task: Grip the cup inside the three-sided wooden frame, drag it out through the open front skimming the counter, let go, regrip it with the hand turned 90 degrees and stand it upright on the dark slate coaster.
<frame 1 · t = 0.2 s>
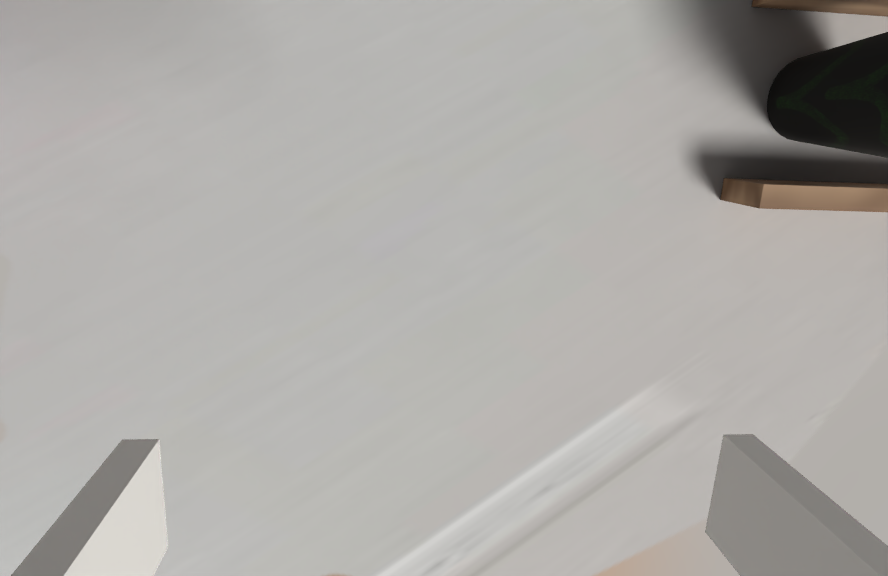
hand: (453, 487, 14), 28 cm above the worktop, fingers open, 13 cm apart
wooden frame: (869, 102, 41), on the worktop
cup: (803, 99, 41), on the worktop
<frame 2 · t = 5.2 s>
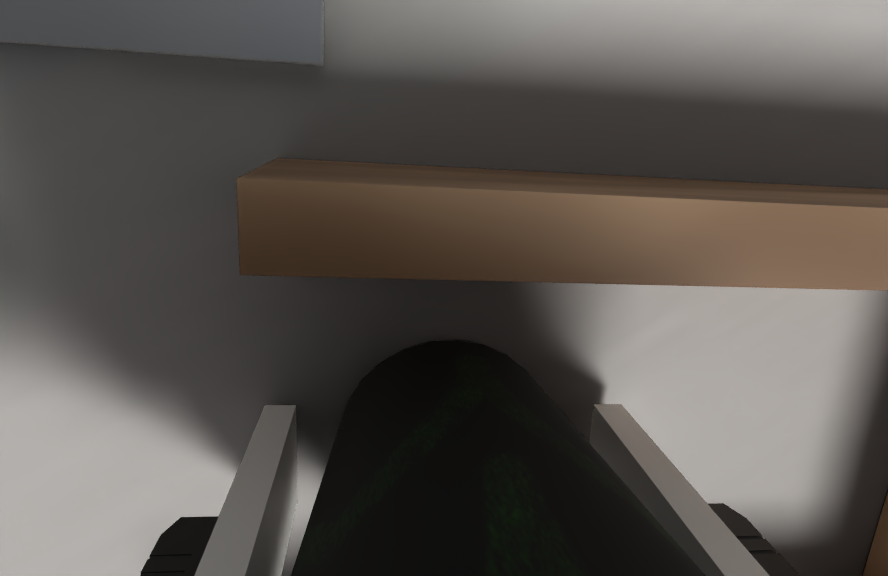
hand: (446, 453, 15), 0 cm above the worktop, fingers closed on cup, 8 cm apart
wooden frame: (643, 434, 16), on the worktop
cup: (445, 435, 16), on the worktop, touching gripper
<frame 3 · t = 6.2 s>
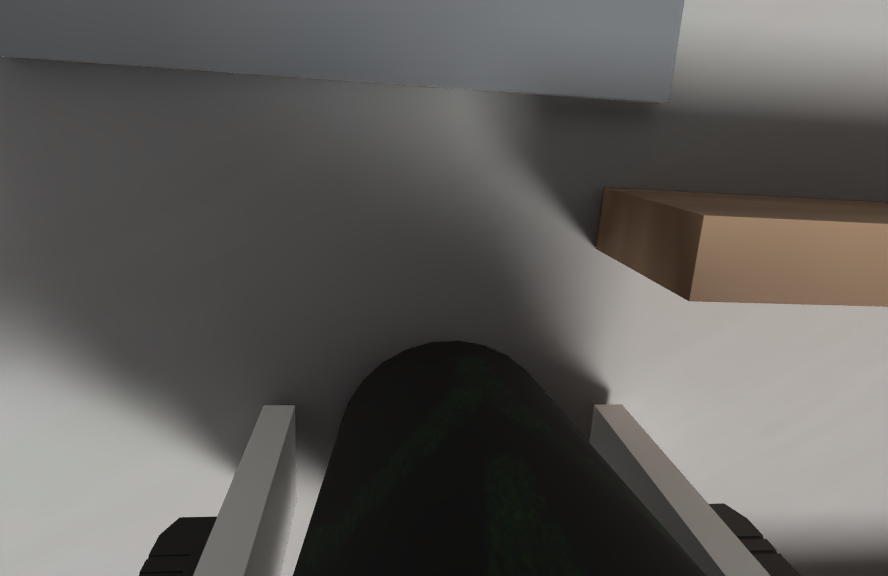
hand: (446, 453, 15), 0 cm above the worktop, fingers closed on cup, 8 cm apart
cup: (446, 436, 16), on the worktop, touching gripper
when the fingers open (0 cm above the worktop, at t = 7.4 s): cup stays where it is, on the worktop.
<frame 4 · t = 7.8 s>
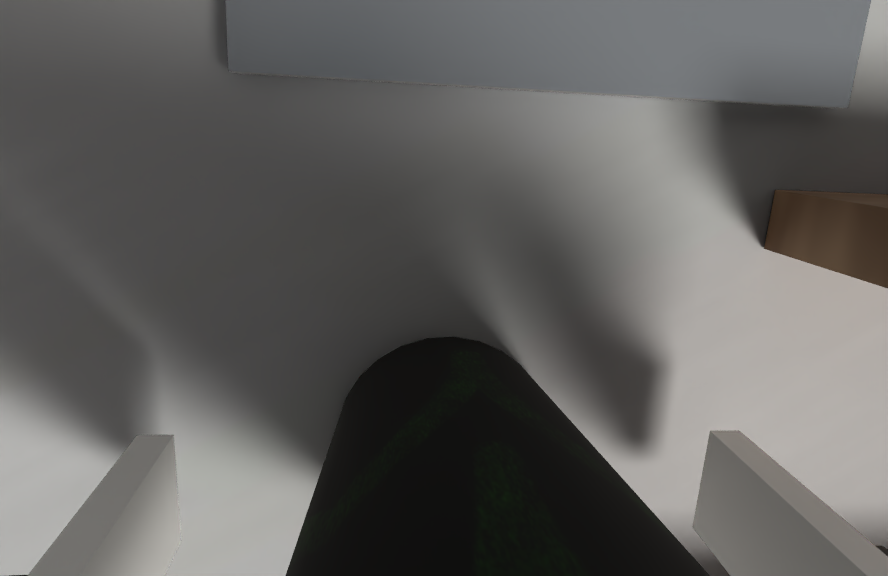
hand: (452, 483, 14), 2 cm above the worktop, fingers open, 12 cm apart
cup: (442, 432, 16), on the worktop
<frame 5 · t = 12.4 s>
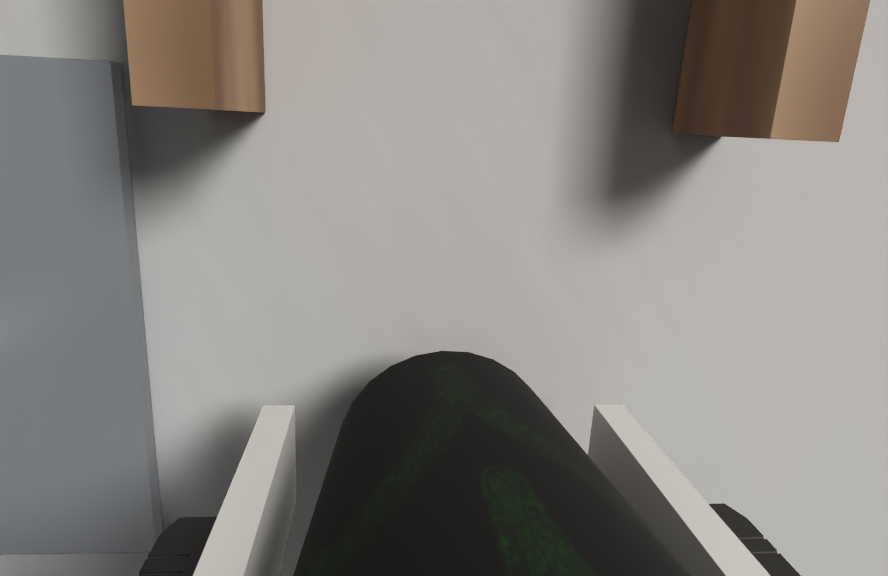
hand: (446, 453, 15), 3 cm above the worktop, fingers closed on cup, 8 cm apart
cup: (444, 445, 16), point 2 cm above the worktop, touching gripper
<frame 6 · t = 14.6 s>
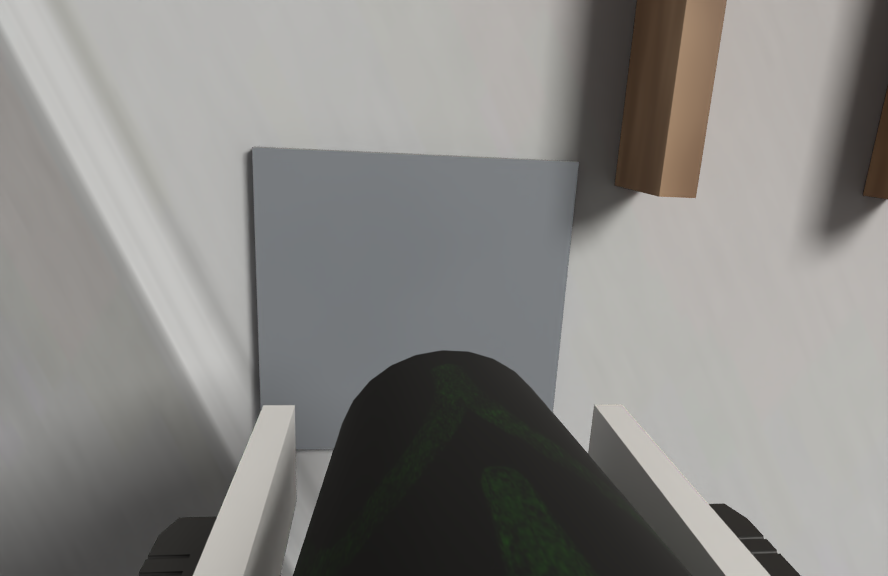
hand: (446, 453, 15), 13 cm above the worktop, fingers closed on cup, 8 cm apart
coaster: (414, 307, 28), on the worktop
cup: (444, 445, 16), point 13 cm above the worktop, touching gripper
when the fingers open (1 cm above the worktop, at t = 16.9 s): cup stays where it is, resting on coaster.
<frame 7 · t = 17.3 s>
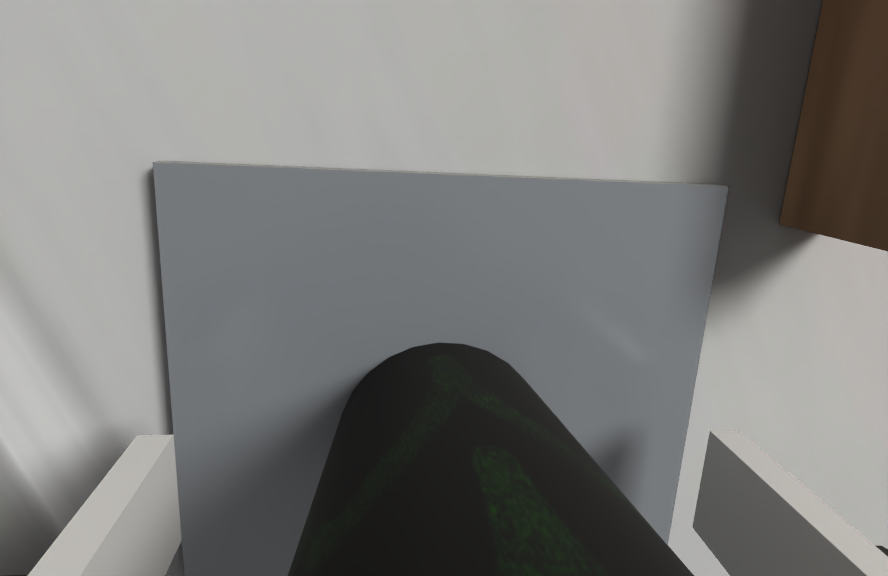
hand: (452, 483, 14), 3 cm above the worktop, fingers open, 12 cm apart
coaster: (440, 425, 17), on the worktop
cup: (440, 434, 16), resting on coaster
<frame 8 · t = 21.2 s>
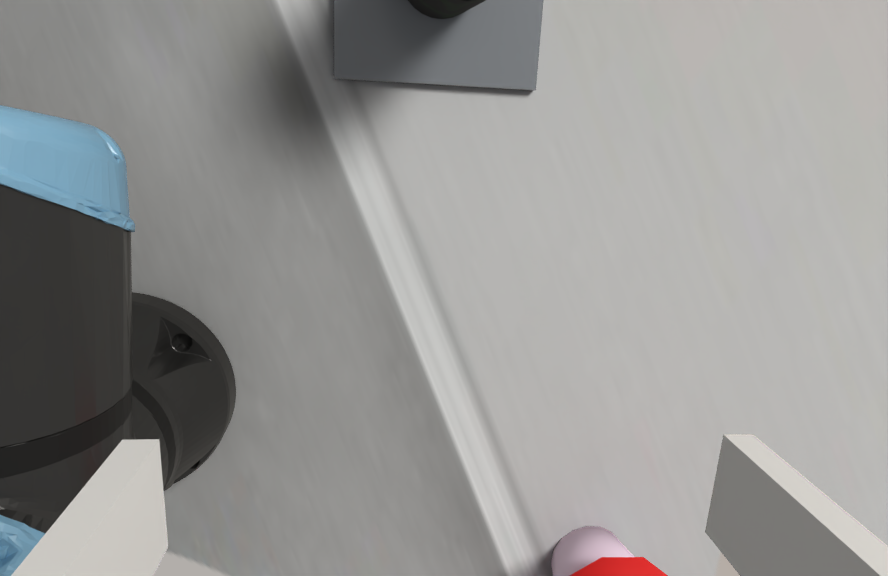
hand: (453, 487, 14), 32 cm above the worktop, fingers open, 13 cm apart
mushroom: (583, 555, 54), on the worktop
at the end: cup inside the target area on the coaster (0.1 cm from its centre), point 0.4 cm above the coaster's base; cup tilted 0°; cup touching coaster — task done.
